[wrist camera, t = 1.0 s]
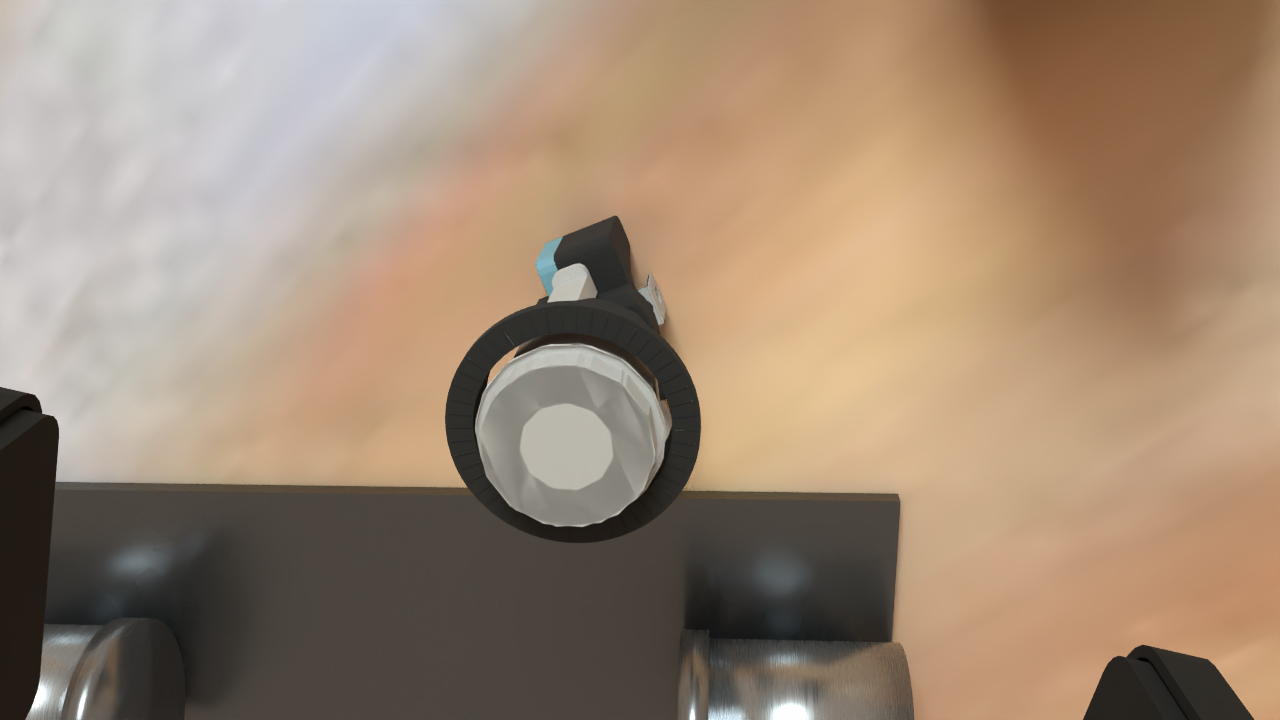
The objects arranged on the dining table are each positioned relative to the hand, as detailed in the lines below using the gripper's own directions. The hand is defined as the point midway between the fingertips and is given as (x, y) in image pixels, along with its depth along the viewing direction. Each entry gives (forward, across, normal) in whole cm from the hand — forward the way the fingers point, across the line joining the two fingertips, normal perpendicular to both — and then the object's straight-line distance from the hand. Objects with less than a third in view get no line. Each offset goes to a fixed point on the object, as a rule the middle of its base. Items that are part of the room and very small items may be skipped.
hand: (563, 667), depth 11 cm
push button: (+23, 0, +4) cm, 24 cm away
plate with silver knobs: (+23, +3, +16) cm, 29 cm away
